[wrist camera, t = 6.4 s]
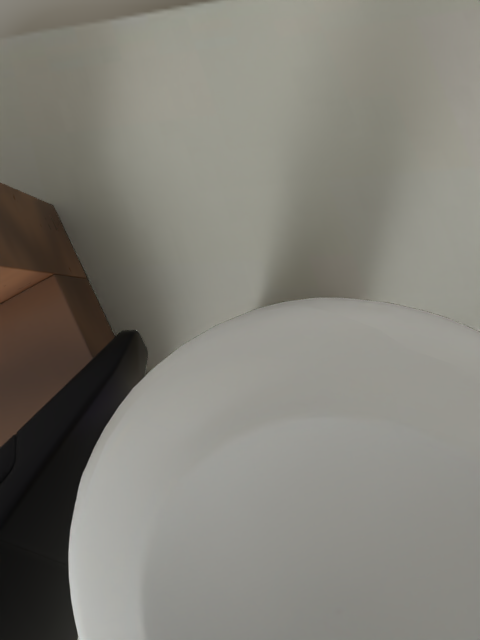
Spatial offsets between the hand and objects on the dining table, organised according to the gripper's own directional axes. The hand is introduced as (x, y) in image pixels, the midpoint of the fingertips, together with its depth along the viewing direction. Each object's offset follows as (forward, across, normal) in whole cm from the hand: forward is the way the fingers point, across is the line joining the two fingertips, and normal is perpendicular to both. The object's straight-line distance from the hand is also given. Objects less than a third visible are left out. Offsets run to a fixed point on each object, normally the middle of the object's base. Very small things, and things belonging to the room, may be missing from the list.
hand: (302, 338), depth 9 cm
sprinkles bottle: (+4, 0, +6) cm, 7 cm away
